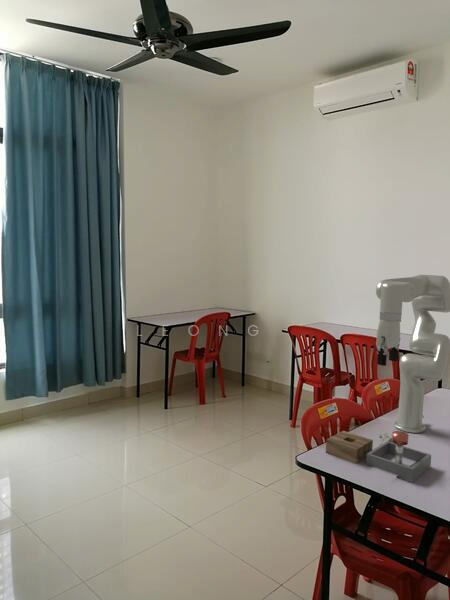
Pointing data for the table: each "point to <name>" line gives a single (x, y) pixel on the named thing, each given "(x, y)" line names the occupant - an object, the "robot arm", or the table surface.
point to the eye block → (349, 446)
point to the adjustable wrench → (385, 437)
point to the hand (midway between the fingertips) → (387, 362)
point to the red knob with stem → (399, 444)
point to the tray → (401, 470)
